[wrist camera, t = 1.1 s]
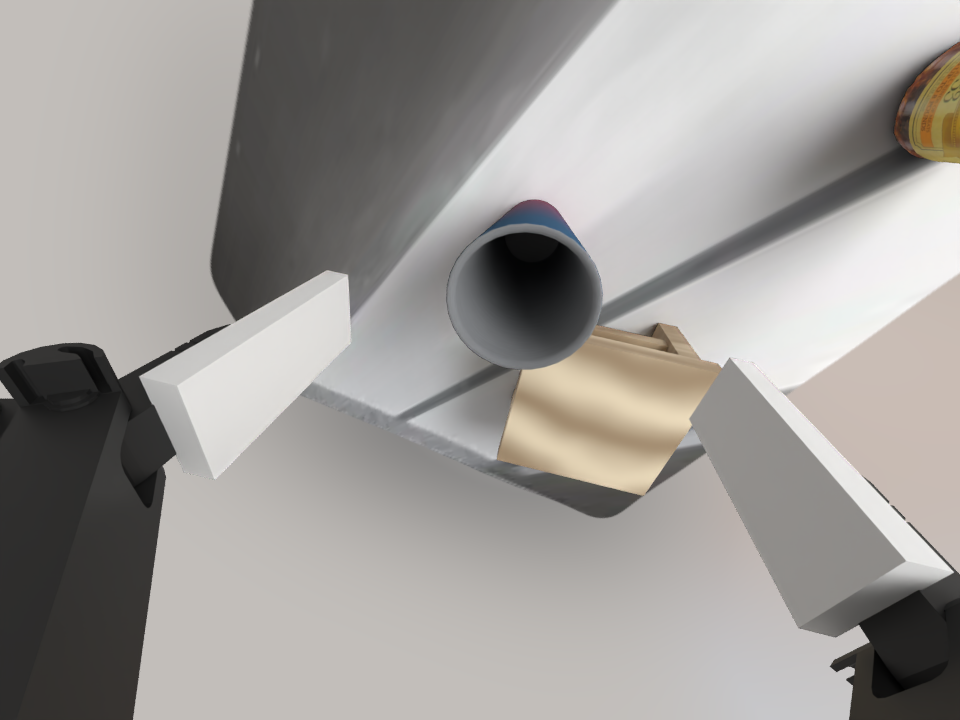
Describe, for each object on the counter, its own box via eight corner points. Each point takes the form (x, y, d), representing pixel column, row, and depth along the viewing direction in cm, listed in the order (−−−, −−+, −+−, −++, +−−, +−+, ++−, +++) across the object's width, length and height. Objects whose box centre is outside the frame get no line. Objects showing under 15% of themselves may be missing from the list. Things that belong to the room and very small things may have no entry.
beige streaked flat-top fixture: (536, 290, 30) (533, 331, 23) (685, 323, 30) (726, 374, 23) (505, 403, 37) (496, 459, 30) (625, 431, 37) (643, 495, 30)
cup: (490, 273, 30) (450, 364, 17) (490, 186, 27) (440, 221, 14) (570, 276, 29) (589, 375, 16) (582, 186, 26) (617, 224, 13)
